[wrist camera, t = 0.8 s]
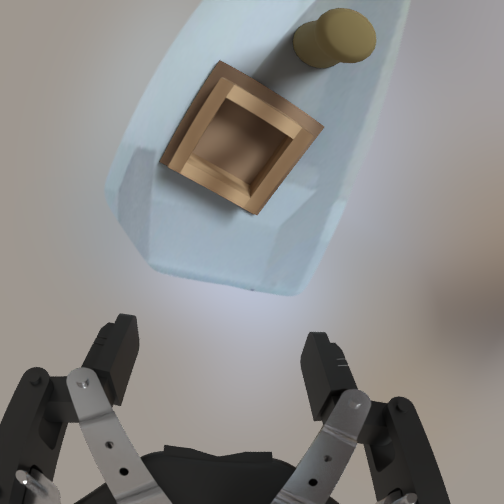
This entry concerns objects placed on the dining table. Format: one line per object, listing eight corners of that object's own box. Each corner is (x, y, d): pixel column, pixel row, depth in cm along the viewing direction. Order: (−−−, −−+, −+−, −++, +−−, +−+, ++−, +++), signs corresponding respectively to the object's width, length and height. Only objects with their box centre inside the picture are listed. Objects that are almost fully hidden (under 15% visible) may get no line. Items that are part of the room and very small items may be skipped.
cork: (281, 45, 25) (298, 31, 16) (314, 11, 22) (345, -13, 13) (323, 78, 27) (357, 82, 18) (355, 45, 25) (400, 38, 16)
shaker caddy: (161, 159, 33) (150, 172, 29) (220, 60, 26) (216, 58, 22) (256, 212, 37) (258, 230, 34) (322, 125, 31) (333, 133, 27)
